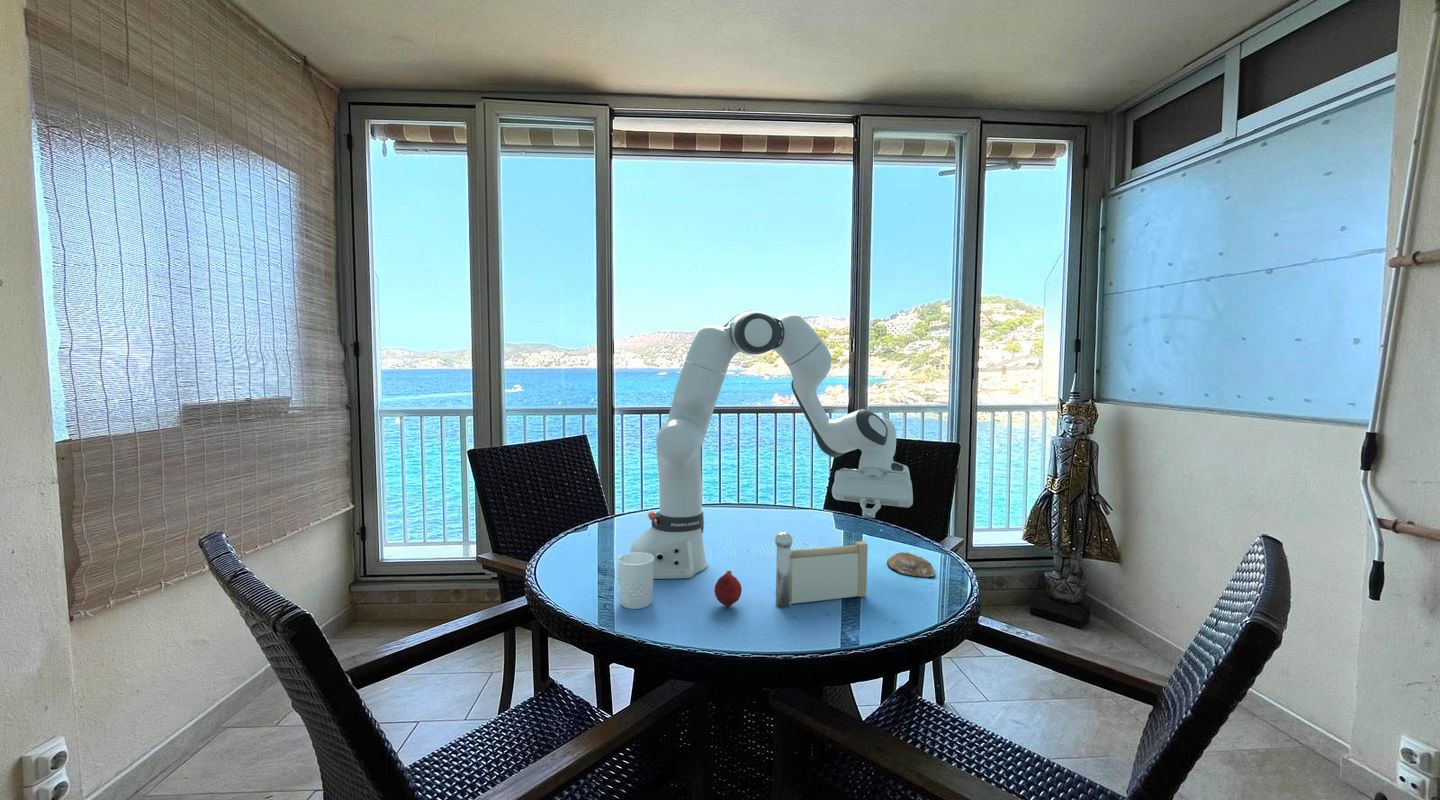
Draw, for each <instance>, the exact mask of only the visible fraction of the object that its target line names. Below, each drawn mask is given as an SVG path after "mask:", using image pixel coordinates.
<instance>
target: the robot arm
mask: <svg viewBox="0 0 1440 800" xmlns="http://www.w3.org/2000/svg"><path fill="white" fill-rule="evenodd" d="M772 350H773V351H775V352H776V353H777V354H778V355H780V357H781V359H782V360H783V362H784V363H785V365H786V366H787V368H788V369H789V370H790V373H791V374H790V375H791V377H792V380H791V390H792V392H793V395H794V397H795V400H796V401H797V403H798V405H799V408H800V409H801V411H802V413H803V415H804V416H805V418H806V420H807V422H808V424H809V426H810V429H811V430H812V432H813V434H814V438H815V441H816V444H817V446H818V448H819V449H820V450H821V451H822V453H824V454H826V455H827V456H829V457H832V458H839V457H841V456H843V455H845V454H847V453H849V452H851V451H856V450H857V449H858V450H860V451H861V455H860V457H859V462H858V468H857V469H856V468H846V467H842V468H840V469H838V470H836V471H835V472H834V477H833V478H834V482H833V484H832V487H831V493H832V494H831V495H832V497H833V499H835V500H837V501H843V502H844V501H845V502H854V503H859V504H860V507H861V509H862V511H861V513H862V514H861V515H862V517H863V518H870V519H871V518H872V519H875V518H876V513H877V512H878V511H879V510H881V508H882V506H888V507H889V506H891V507H892V506H893V507H899V508H910V507H912V506H913V503H914V496H913V495H914V493H913V483H912V480H911V479H912V478H911V475H910V474H911V473H910V469H909V466H907V465H905V464H902V463H899V462H897V461H894V456H895V454H896V449H897V448H896V447H897V432H896V431H897V430H896V426H895V424H894V423H893V421H891V420H890V419H888V418H886V417H882V416H878V415H877V414H876V413H874V412H872V411H871V410H868V409H866V408H861V409H858V410H855V411H852V412H850V413H847V414H845V415H843V416H841V417H840V416H839V417H838V418H835V419H832V418H830V417H829V416H828V415H827V412H826V411H825V409H824V407H823V405H822V403H821V400H819V397H818V394H817V390H818V387H819V385H821V383H822V382H823V381H824V380H825V378H826V377H827V375H829V372H830V370H831V367H832V355H831V352H830V351H829V349H828V347H827V346H826V344H825V343H824V342H823V340H822V338H821V337H820V336H819V335H818V333H817V332H816V331H815V330H814V329H813V327H812V326H811V325H810V324H809V323H808V322H807V321H806V320H805V319H804V318H803V317H802V316H800V314H798V313H796V312H795V313H794V312H788V313H785V314H782V315H781V316H779V317H778V318H777V317H774V316H772V315H771V314H769V313H766V312H765V311H761V310H760V311H758V310H745V311H743V312H741V313H739V314H736V315H734V316H733V317H732V318H731V319H730V320H729V321H728V322H727V323H725V325H723V326H720V325H715V324H709V325H704V326H703V327H701V328H700V329H698V331H697V334H696V335H695V336H694V339H693V341H692V342H691V345H690V347H689V349H688V352H687V354H686V357H685V360H684V362H683V365H682V369H681V372H680V374H679V377H678V380H677V383H676V386H675V389H674V395H673V399H672V402H671V406H670V410H669V413H668V417H667V420H666V422H665V424H663V425H662V426H661V427H660V428H659V430H658V432H657V433H656V434H657V435H656V439H655V442H656V460H657V470H658V471H657V472H658V479H659V511H657V512H655V511H653V510H651V511H649V512H648V514H647V517H648V518H649V520H650V521H651V527H649V528H648V529H646V531H644V532H643V533H642V534H641V535H639V536H638V537H637V538H635V539H634V540H633V541H632V544H631V547H630V549H629V550H630V551H629V553H635V552H642V553H648V554H651V555H653V556H654V573H653V580H655V579H659V580H660V579H665V580H666V579H690V578H692V577H694V575H695V574H698V573H699V572H701V571H703V570H705V569H707V568H708V561H707V556H706V554H705V553H706V552H705V547H704V538H703V533H704V529H705V528H704V527H705V522H704V521H705V518H704V517H705V516H704V512H703V509H702V507H703V506H702V505H703V502H702V501H703V496H702V495H703V477H702V457H701V455H702V454H701V453H702V446H703V443H704V441H705V438H706V435H707V432H708V428H709V425H710V423H711V419H712V415H713V413H714V409H715V407H716V404H717V400H718V398H719V395H720V392H721V389H722V386H723V384H724V382H725V381H724V380H725V377H726V374H727V372H728V368H729V365H730V363H731V360H732V359H733V358H734V356H735V355H737V354H738V353H742V354H746V355H751V356H752V355H761V354H765V353H767V352H769V351H772ZM867 504H871V505H874V506H872V508H869V507H866V506H867Z"/></svg>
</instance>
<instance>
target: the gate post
mask: <svg viewBox="0 0 1440 800" xmlns="http://www.w3.org/2000/svg"><path fill="white" fill-rule="evenodd" d="M774 543H775V546H776V567H775V568H776V570H775V573H776V574H775V578H776V579H775V606H776V607H778V608H780V609H781V608H782V609H786V608H788V607H789V606H790V604H791V602H790V551H791V550H792V548H791V547H792V545H793V537H792V535H791V534H790V533H788V532H786V531H780V532H779V533H778V534H777V535H776V536H775V538H774Z"/></svg>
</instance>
